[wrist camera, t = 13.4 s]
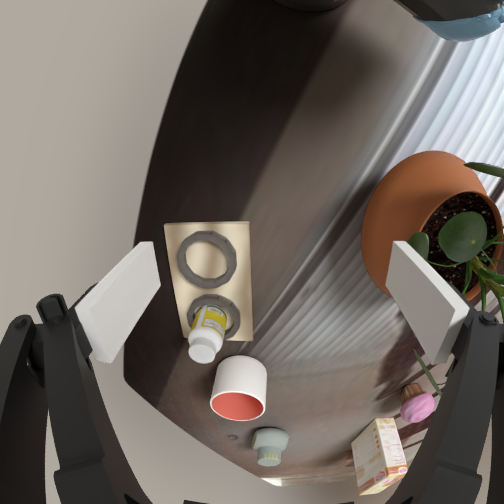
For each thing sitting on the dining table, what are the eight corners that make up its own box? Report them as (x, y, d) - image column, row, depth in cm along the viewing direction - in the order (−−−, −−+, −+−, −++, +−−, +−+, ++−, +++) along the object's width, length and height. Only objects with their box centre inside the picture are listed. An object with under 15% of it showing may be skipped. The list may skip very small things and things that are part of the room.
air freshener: (258, 421, 62) (256, 453, 53) (290, 424, 63) (290, 456, 53) (251, 438, 67) (248, 467, 58) (279, 441, 67) (279, 470, 58)
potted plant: (335, 150, 37) (474, 199, 9) (481, 139, 33) (620, 180, 5) (351, 289, 45) (410, 449, 18) (479, 259, 41) (574, 354, 14)
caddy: (249, 221, 42) (247, 226, 40) (253, 337, 51) (252, 346, 48) (165, 223, 43) (160, 228, 40) (185, 334, 51) (181, 342, 49)
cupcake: (398, 381, 55) (410, 412, 45) (429, 373, 54) (443, 402, 44) (391, 402, 58) (400, 432, 49) (419, 394, 57) (431, 423, 48)
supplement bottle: (204, 330, 49) (192, 368, 40) (192, 306, 47) (177, 343, 38) (232, 324, 48) (224, 364, 39) (221, 299, 46) (211, 338, 37)
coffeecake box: (369, 442, 67) (378, 493, 49) (349, 443, 67) (357, 496, 49) (394, 417, 61) (410, 473, 43) (374, 417, 61) (388, 476, 43)
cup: (270, 382, 56) (269, 419, 46) (224, 385, 57) (218, 421, 48) (262, 350, 52) (260, 389, 43) (212, 353, 53) (202, 391, 44)
